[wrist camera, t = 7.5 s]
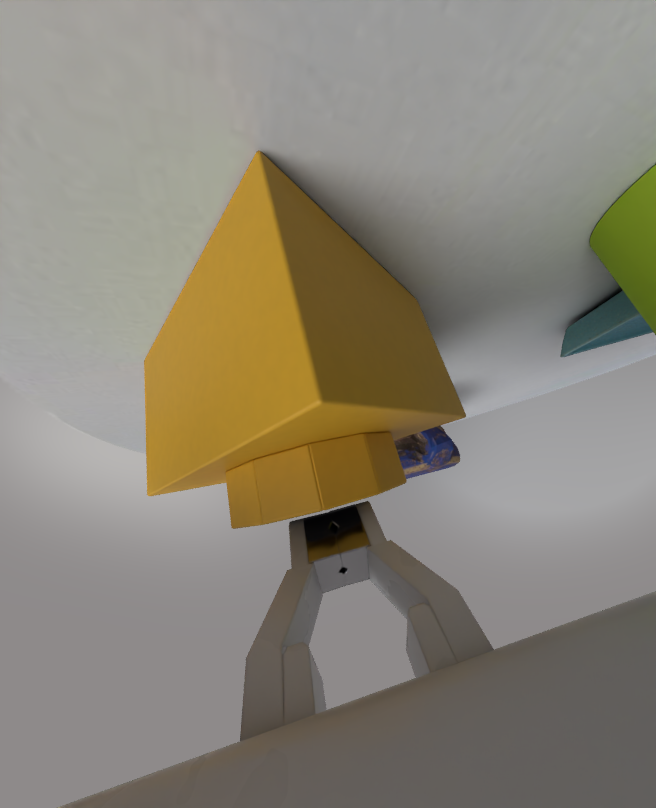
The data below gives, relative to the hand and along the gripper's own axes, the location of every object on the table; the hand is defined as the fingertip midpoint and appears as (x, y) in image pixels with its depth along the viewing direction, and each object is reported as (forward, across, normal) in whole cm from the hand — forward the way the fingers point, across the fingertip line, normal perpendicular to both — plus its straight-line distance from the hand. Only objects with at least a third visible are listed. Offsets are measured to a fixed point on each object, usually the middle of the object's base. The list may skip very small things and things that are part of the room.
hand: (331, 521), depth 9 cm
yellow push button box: (+6, 0, +6) cm, 9 cm away
